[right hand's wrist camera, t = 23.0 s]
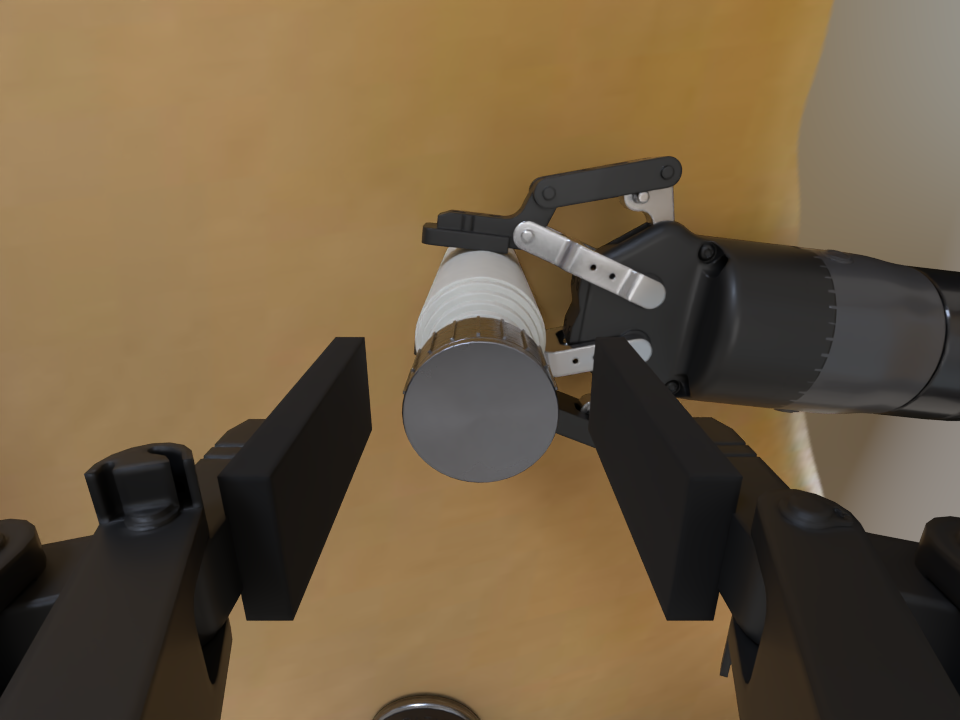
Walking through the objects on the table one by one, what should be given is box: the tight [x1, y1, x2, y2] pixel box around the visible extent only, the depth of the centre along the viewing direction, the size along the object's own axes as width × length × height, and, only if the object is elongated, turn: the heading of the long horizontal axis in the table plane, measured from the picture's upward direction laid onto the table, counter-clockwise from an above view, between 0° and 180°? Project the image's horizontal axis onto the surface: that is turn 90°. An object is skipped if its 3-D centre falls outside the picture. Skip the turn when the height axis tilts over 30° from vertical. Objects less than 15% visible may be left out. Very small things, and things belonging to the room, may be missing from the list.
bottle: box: [415, 247, 546, 354], centre depth 21 cm, size 4×4×18 cm
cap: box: [402, 316, 559, 483], centre depth 13 cm, size 4×4×2 cm
